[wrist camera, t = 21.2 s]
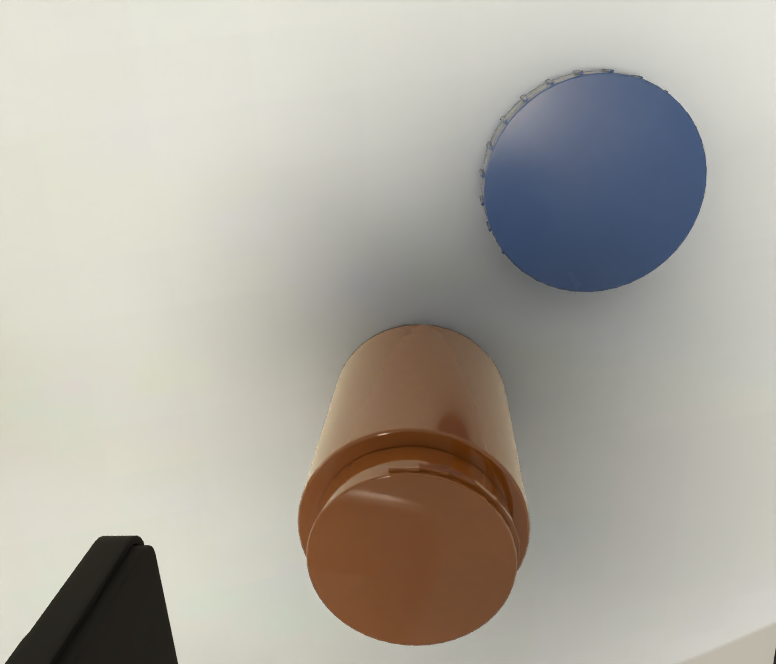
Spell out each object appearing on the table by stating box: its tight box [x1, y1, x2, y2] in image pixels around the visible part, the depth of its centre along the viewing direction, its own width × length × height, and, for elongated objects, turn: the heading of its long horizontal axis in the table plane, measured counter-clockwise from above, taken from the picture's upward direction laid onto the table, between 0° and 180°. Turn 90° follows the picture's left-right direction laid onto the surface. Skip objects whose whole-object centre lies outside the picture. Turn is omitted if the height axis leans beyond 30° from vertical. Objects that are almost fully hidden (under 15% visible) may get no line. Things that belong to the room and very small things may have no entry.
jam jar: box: [298, 325, 530, 646], centre depth 23 cm, size 7×7×9 cm
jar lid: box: [480, 69, 707, 292], centre depth 23 cm, size 7×7×2 cm
